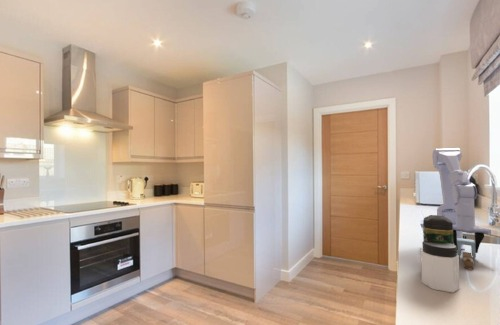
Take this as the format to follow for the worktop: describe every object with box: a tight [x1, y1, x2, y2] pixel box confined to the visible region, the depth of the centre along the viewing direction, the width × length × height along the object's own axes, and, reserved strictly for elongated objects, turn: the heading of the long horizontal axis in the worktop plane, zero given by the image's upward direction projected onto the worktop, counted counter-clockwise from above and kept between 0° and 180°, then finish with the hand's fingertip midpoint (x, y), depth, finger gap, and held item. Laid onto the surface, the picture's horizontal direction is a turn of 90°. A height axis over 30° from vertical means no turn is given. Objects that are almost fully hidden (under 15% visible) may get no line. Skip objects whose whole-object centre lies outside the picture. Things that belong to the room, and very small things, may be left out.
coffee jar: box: [422, 214, 453, 244], centre depth 84 cm, size 10×8×19 cm
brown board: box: [461, 251, 475, 270], centre depth 92 cm, size 12×2×3 cm, turn 143°
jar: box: [420, 240, 461, 294], centre depth 75 cm, size 9×8×12 cm
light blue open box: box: [457, 238, 477, 258], centre depth 100 cm, size 5×5×6 cm
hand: (466, 250), depth 99 cm, fingers closed on light blue open box, 5 cm apart
